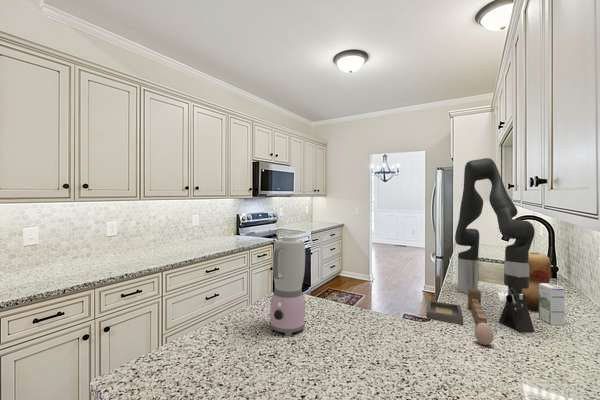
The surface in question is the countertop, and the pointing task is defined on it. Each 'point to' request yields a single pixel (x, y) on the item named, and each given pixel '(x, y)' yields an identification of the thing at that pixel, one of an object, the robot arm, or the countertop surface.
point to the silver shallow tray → (444, 312)
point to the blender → (288, 286)
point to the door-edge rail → (476, 306)
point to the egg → (483, 333)
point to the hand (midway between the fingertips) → (515, 317)
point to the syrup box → (552, 304)
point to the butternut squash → (537, 277)
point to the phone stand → (509, 317)
